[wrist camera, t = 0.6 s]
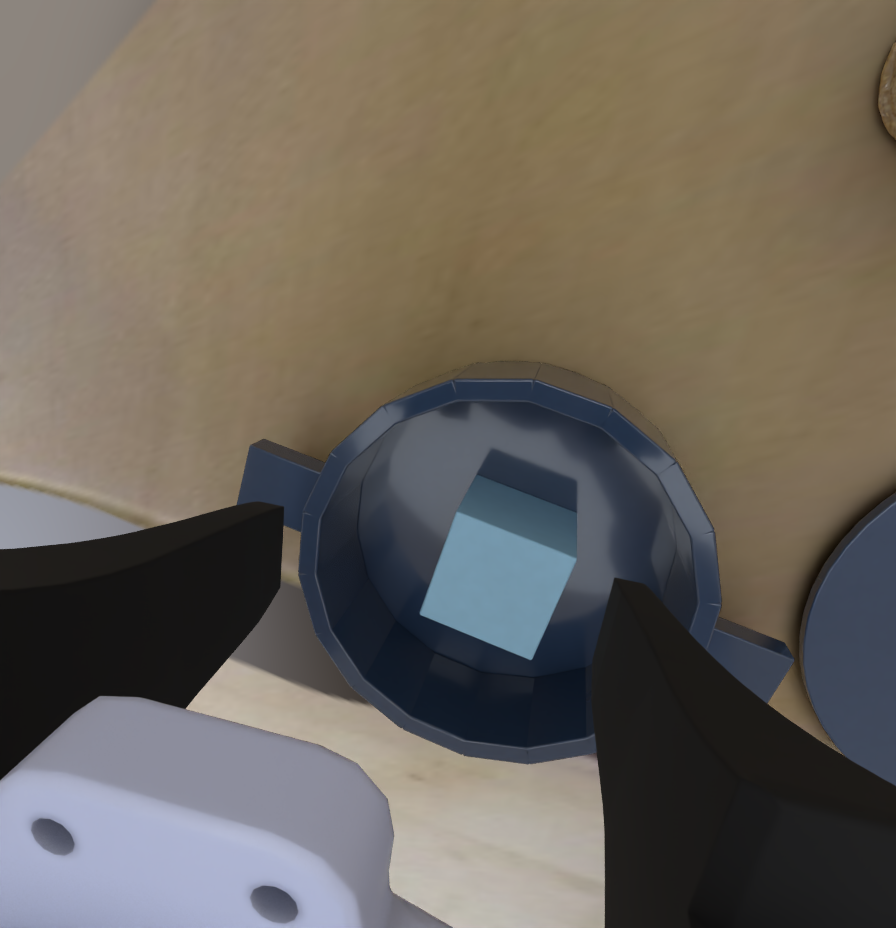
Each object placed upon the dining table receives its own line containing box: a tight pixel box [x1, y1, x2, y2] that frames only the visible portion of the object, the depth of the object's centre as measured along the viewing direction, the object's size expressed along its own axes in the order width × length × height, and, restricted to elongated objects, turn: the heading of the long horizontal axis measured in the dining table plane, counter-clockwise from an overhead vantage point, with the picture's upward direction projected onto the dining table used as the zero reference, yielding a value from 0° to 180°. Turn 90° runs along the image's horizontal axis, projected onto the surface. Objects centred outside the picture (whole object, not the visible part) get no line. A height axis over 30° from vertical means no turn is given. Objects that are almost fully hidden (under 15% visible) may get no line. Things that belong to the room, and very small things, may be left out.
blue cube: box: [420, 475, 577, 660], centre depth 21 cm, size 4×4×4 cm
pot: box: [237, 361, 795, 764], centre depth 21 cm, size 13×19×4 cm
